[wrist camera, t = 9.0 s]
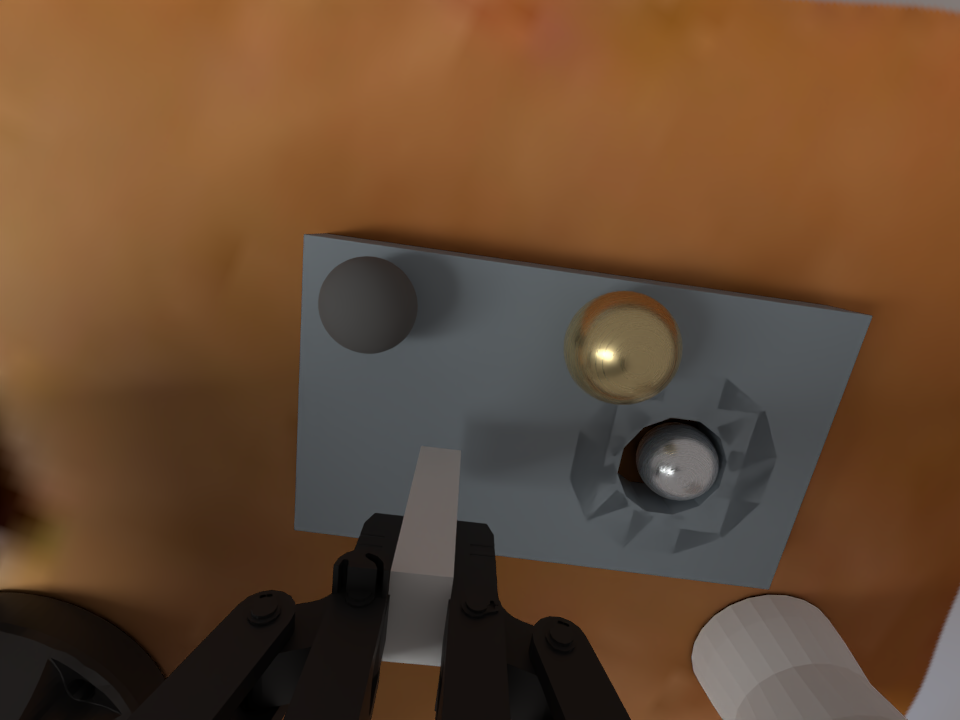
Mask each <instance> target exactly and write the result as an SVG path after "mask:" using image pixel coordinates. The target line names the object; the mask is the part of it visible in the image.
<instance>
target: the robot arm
mask: <svg viewBox="0 0 960 720" xmlns="http://www.w3.org/2000/svg"><path fill="white" fill-rule="evenodd" d="M460 459H461V450H452V449H444V448H435V447H426V446H421V448H420V453H419V457H418V461H417V465H416V469H415V473H414V477H413V481H412V485H411V489H410V494H409V498H408V502H407V506H406V510H405V514H404V516H400V515H391V514H382V513H374V514H373V515H372V516H371V517H370V518H369V519H368V520H366V521H365V523H364V525H363V528H362V531H361V533H360V536H359V539H358V541H357V545H356V547H355V549H354V551H351V552H347V553H346V554H344V555H342V556H341V557H339V558H338V560H337V561H336V562H335V564H334V568H333V586H332V594H330V595H329V596H327V597H325V598H323V599H320V600H317V601H313V602H308V603H302V604H296V605H295V602H294V600H293V599H292V597H291V596H290V595H288V594H286V593H284V592H282V591H275V590H269V591H263V592H259V593H256V594H254V595H251V596H249V597H247V598H246V599H245V600H244V601H242V602H241V603H240V604H238V606H237V607H236V608H235V609H234V610H233V611H232V612H231V613H230V614H229V615H228V616H227V617H226V618H225V619H224V620H223V621H222V622H221V623H220V624H219V625H218V626H217V627H216V628H215V629H214V630H213V631H212V632H211V633H210V634H209V635H208V636H207V637H206V638H205V639H204V641H203V642H202V643H201V644H200V645H199V646H198V647H197V648H196V649H195V650H194V651H193V652H192V653H191V654H190V655H189V656H188V657H187V658H186V659H185V660H184V661H183V662H182V663H181V664H180V665H179V666H178V667H177V668H176V669H175V670H174V671H173V672H172V673H171V675H170V676H169V677H168V678H167V679H166V680H165V679H164V677H163V675H162V673H161V672H160V670H159V669H158V667H157V666H156V664H155V663H154V662H153V660H152V659H151V658H150V657H149V656H148V654H147V653H146V652H145V651H144V650H143V649H142V648H141V647H140V646H139V645H138V644H137V643H136V642H135V641H133V640H132V639H131V638H130V637H129V636H127V635H126V634H125V633H124V632H122V631H121V630H119V629H118V628H117V627H115V626H114V625H112V624H111V623H109V622H107V621H106V620H104V619H102V618H100V617H98V616H96V615H95V614H93V613H91V612H88V611H86V610H84V609H82V608H79V607H77V606H74V605H72V604H69V603H66V602H63V601H59V600H56V599H52V598H48V597H43V596H38V595H32V594H23V593H0V720H282V718H283V716H284V715H285V717H284V720H371V717H372V712H373V708H374V703H375V698H376V693H377V688H378V683H379V675H380V665H381V660H382V661H387V662H398V663H409V664H420V665H431V666H441V668H440V676H439V683H438V690H437V697H436V705H435V711H436V717H435V720H631V719H630V717H629V715H628V713H627V711H626V709H625V708H624V706H623V704H622V702H621V700H620V698H619V697H618V695H617V693H616V691H615V689H614V687H613V685H612V684H611V682H610V680H609V678H608V676H607V674H606V672H605V671H604V669H603V667H602V665H601V663H600V661H599V659H598V658H597V656H596V654H595V652H594V650H593V648H592V646H591V645H590V643H589V641H588V639H587V637H586V636H585V634H584V633H583V632H582V630H581V629H580V628H579V627H578V626H576V625H575V624H574V623H572V622H571V621H569V620H566V619H564V618H561V617H551V616H549V617H546V618H543V619H540V620H539V621H538V622H537V623H536V624H535V625H534V626H533V625H530V624H527V623H525V622H522V621H520V620H518V619H516V618H514V617H513V616H511V615H510V614H509V613H507V612H506V610H505V609H504V608H503V607H502V605H501V602H500V601H499V598H498V592H497V576H496V561H495V549H494V547H495V545H494V534H493V533H492V531H491V530H490V528H489V526H488V525H487V524H485V523H476V522H467V521H458V520H457V510H458V493H459V476H460ZM285 713H286V714H285Z"/></svg>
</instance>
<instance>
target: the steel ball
mask: <svg viewBox="0 0 960 720" xmlns="http://www.w3.org/2000/svg"><path fill="white" fill-rule="evenodd" d="M636 465H637V469H638V472H639V475H640V477H641V478H642V480H643V481H644V483H645V484H646V485H647V486H648V487H649V488H650V489H651V490H652V491H653V492H655V493H656V494H658V495H660V496H662V497H664V498H667V499H671V500H679V501H683V500H690V499H694V498H696V497H699V496H701V495H702V494H704V493H705V492H706V491H708V490H709V489H710V488H711V486H712V485H713V483H714V482H715V480H716V477H717V474H718V469H719V460H718V455H717V452H716V449H715V447H714V445H713V444H712V442H711V441H710V439H709V438H708V437H707V436H706V435H705V434H704V433H703V432H701V431H700V430H698V429H697V428H695V427H693V426H690V425H688V424H684V423H678V422H670V423H664V424H660V425H658V426H656V427H654V428H652V429H651V430H649V431H648V432H647V433H646V434H645V435H644V436H643V437H642V439H641V441H640V442H639V445H638V447H637V451H636Z"/></svg>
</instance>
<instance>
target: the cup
mask: <svg viewBox="0 0 960 720" xmlns="http://www.w3.org/2000/svg"><path fill="white" fill-rule="evenodd" d="M691 658H692V665H693V671H694V673H695V675H696V677H697V679H698V681H699V683H700V685H701V686H702V688H703V690H704V691H705V693H706V695H707V696H708V698H709V699H710V701H711V703H712V704H713V706H714V707H715V709H716V710H717V712H718V713H719V715H720V716H721V718H722V719H723V720H907V719H906V718H905V717H904V716H903V715H902V714H901V713H900V712H899V711H898V710H897V709H896V708H895V707H894V706H893V705H892V704H891V703H890V702H889V701H888V700H887V699H886V698H885V697H884V696H883V695H881V694H880V693H879V692H878V691H877V690H876V689H875V688H874V687H873V686H872V685H871V684H870V682H869V681H868V679H867V677H866V676H865V674H864V673H863V671H862V669H861V668H860V666H859V665H858V663H857V661H856V660H855V658H854V657H853V655H852V653H851V652H850V650H849V649H848V647H847V645H846V644H845V642H844V641H843V639H842V638H841V636H840V635H839V634H838V632H837V631H836V629H835V628H834V627H833V625H832V624H831V622H830V621H829V619H828V618H827V617H826V616H825V615H824V614H823V613H822V612H821V611H820V610H819V608H817V607H815V606H813V605H812V604H810V603H808V602H807V601H805V600H802V599H798V598H794V597H791V596H787V595H763V596H758V597H752V598H747V599H745V600H742V601H740V602H737V603H735V604H732V605H730V606H728V607H727V608H725V609H724V610H722V611H721V612H719V613H718V614H716V615H715V616H713V618H712V619H711V620H710V621H709V622H708V623H707V624H706V625H705V626H704V627H703V628H702V629H701V631H700V633H699V635H698V637H697V639H696V640H695V642H694V647H693V652H692V657H691Z"/></svg>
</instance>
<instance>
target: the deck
mask: <svg viewBox="0 0 960 720" xmlns="http://www.w3.org/2000/svg"><path fill="white" fill-rule="evenodd" d="M363 256H370V257H377V258H381V259H384V260H387V261H389V262H391V263H393V264H394V265H396V266H397V267H399V268H400V269H401V270H402V271H403V272H404V273H405V274H406V275H407V277H408V278H409V280H410V281H411V283H412V285H413V287H414V289H415V292H416V296H417V303H418V311H417V317H416V320H415V323H414V326H413V328H412V330H411V331H410V333H409V334H408V336H407V337H406V338H405V339H404V340H403V341H402V342H401V343H399V344H398V345H397V346H395V347H394V348H392V349H389V350H387V351H384V352H380V353H375V354H364V353H358V352H355V351H351V350H349V349H347V348H345V347H343V346H341V345H340V344H338V343H337V342H336V341H335V340H334V339H333V338H332V337H331V336H330V335H329V334H328V332H327V331H326V329H325V328H324V326H323V324H322V321H321V319H320V315H319V309H318V299H319V293H320V289H321V286H322V284H323V282H324V280H325V278H326V277H327V276H328V274H329V273H330V272H331V271H332V270H333V269H334V268H335V267H336V266H338V265H339V264H341V263H343V262H345V261H347V260H349V259H352V258H356V257H363ZM615 291H632V292H637V293H642V294H644V295H647V296H649V297H651V298H653V299H655V300H656V301H658V302H659V303H661V304H662V305H663V306H664V307H665V308H666V309H667V310H668V311H669V312H670V313H671V315H672V316H673V317H674V319H675V321H676V322H677V324H678V327H679V329H680V333H681V337H682V344H683V351H682V358H681V362H680V365H679V368H678V370H677V372H676V374H675V376H674V378H673V379H672V381H671V382H670V383H669V384H668V386H667V387H666V388H664V389H663V390H662V391H661V392H660V393H658V394H657V395H655V396H654V397H652V398H650V399H648V400H645V401H643V402H639V403H636V404H630V405H616V404H610V403H605V402H602V401H599V400H597V399H595V398H593V397H592V396H590V395H588V394H587V393H585V392H584V391H583V390H582V389H581V388H580V387H579V386H578V385H577V384H576V382H575V381H574V380H573V378H572V377H571V375H570V373H569V371H568V369H567V366H566V363H565V359H564V353H563V345H564V337H565V334H566V330H567V328H568V325H569V323H570V321H571V320H572V318H573V316H574V315H575V314H576V312H577V311H578V310H579V309H580V308H581V307H582V306H583V305H585V304H586V303H587V302H589V301H590V300H592V299H593V298H595V297H598V296H600V295H603V294H606V293H609V292H615ZM871 319H872V316H871V315H867V314H862V313H858V312H854V311H849V310H845V309H841V308H836V307H832V306H828V305H821V304H814V303H807V302H800V301H793V300H786V299H780V298H773V297H766V296H759V295H752V294H745V293H738V292H731V291H724V290H717V289H710V288H703V287H696V286H689V285H682V284H675V283H668V282H661V281H654V280H647V279H640V278H633V277H626V276H619V275H612V274H605V273H598V272H591V271H584V270H577V269H570V268H563V267H556V266H549V265H542V264H536V263H529V262H522V261H515V260H508V259H501V258H494V257H487V256H480V255H473V254H466V253H459V252H452V251H445V250H438V249H431V248H424V247H417V246H410V245H403V244H396V243H389V242H382V241H375V240H368V239H361V238H354V237H347V236H340V235H333V234H326V233H325V234H304V249H303V279H302V309H301V340H300V370H299V400H298V431H297V461H296V492H295V522H294V530H298V531H306V532H314V533H322V534H330V535H338V536H346V537H354V538H359V536H360V533H361V531H362V528H363V525H364V523H365V521H366V520H368V519H369V518H370V517H371V516H372V515H373V514H374V513H382V514H391V515H400V516H404V514H405V510H406V506H407V502H408V498H409V494H410V489H411V485H412V481H413V477H414V473H415V469H416V465H417V461H418V457H419V453H420V448H421V446H426V447H435V448H444V449H452V450H461V459H460V476H459V493H458V510H457V520H458V521H467V522H476V523H485V524H487V525H488V526H489V528H490V530H491V531H492V533H493V534H494V545H495V547H494V549H495V555H497V556H505V557H513V558H521V559H529V560H537V561H545V562H553V563H561V564H569V565H577V566H585V567H593V568H601V569H609V570H617V571H625V572H633V573H641V574H649V575H657V576H665V577H673V578H681V579H689V580H696V581H704V582H712V583H720V584H728V585H736V586H744V587H752V588H760V589H768V590H769V588H770V585H771V582H772V580H773V577H774V574H775V572H776V569H777V567H778V564H779V561H780V559H781V556H782V553H783V551H784V548H785V545H786V543H787V540H788V538H789V535H790V532H791V530H792V527H793V524H794V522H795V519H796V516H797V514H798V511H799V509H800V506H801V503H802V501H803V498H804V495H805V493H806V490H807V487H808V485H809V482H810V480H811V477H812V474H813V472H814V469H815V466H816V464H817V461H818V458H819V456H820V453H821V451H822V448H823V445H824V443H825V440H826V437H827V435H828V432H829V429H830V427H831V424H832V422H833V419H834V416H835V414H836V411H837V408H838V406H839V403H840V401H841V398H842V395H843V393H844V390H845V387H846V385H847V382H848V379H849V377H850V374H851V372H852V369H853V366H854V364H855V361H856V358H857V356H858V353H859V350H860V348H861V345H862V343H863V340H864V337H865V335H866V332H867V329H868V327H869V324H870V321H871ZM669 418H678V419H685V420H693V421H697V424H698V428H699V430H700V431H701V432H703V433H704V434H705V435H706V436H707V437H708V438H709V439H710V441H711V442H712V444H713V445H714V447H715V449H716V452H717V455H718V460H719V469H718V474H717V477H716V480H715V482H714V483H713V485H712V486H711V488H710V489H709V490H708V491H706V492H705V493H704V494H702V495H701V496H699V497H696V498H694V499H690V500H683V501H679V500H671V499H667V498H664V497H662V496H660V495H658V494H656V493H655V492H653V491H652V490H651V489H650V488H649V487H648V486H647V485H646V484H645V483H638V482H630V481H628V480H627V479H625V478H624V477H623V476H621V475H620V474H619V473H618V469H619V465H620V461H621V457H622V453H623V449H624V447H625V446H626V445H627V444H628V443H629V442H630V441H631V440H632V439H633V438H634V437H635V436H636V435H637V434H638V433H639V432H640V431H641V430H642V429H643V428H644V427H646V426H649V425H652V424H655V423H658V422H661V421H663V420H666V419H669Z"/></svg>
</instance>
